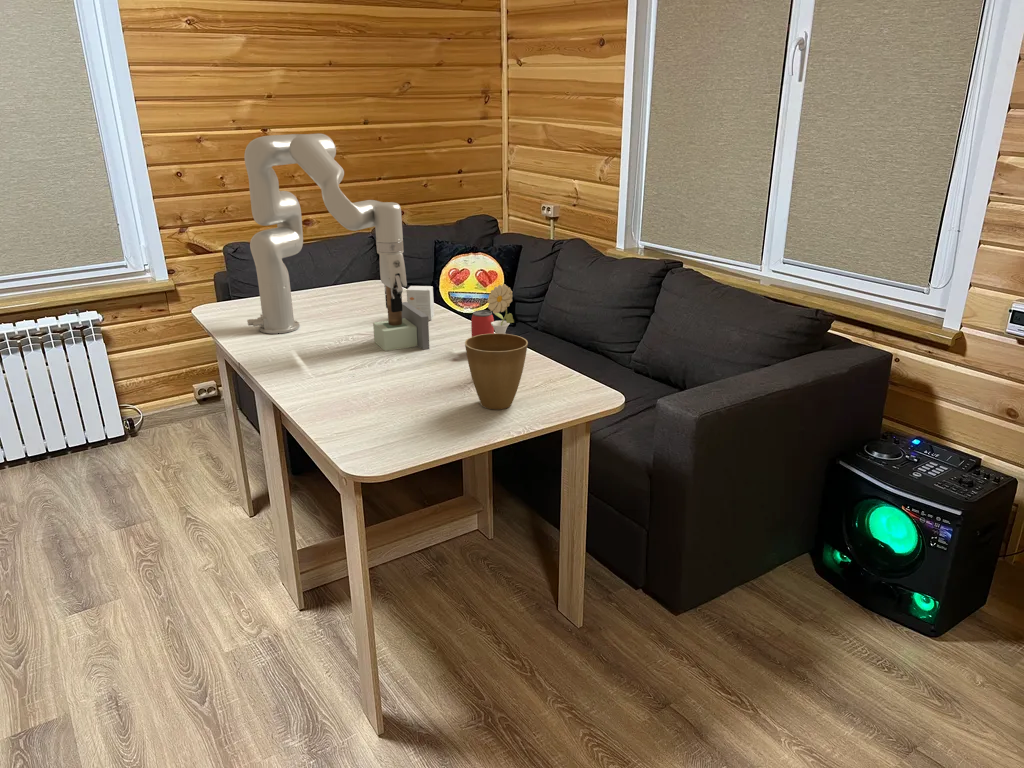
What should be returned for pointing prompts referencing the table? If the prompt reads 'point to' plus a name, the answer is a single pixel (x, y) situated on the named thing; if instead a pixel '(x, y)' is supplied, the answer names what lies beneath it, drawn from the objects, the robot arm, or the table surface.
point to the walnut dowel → (393, 317)
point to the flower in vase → (500, 307)
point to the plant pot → (496, 367)
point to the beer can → (482, 323)
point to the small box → (422, 299)
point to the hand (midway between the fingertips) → (394, 309)
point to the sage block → (395, 335)
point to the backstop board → (417, 324)
